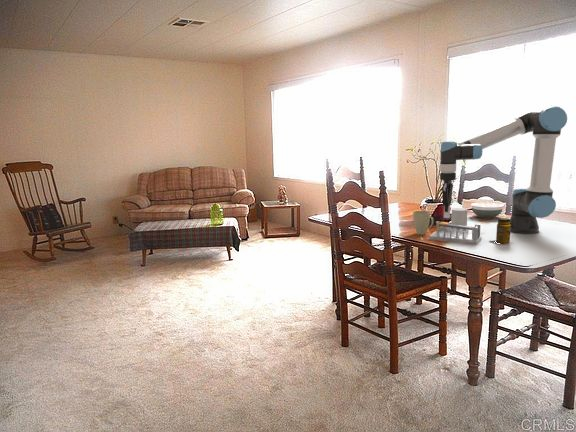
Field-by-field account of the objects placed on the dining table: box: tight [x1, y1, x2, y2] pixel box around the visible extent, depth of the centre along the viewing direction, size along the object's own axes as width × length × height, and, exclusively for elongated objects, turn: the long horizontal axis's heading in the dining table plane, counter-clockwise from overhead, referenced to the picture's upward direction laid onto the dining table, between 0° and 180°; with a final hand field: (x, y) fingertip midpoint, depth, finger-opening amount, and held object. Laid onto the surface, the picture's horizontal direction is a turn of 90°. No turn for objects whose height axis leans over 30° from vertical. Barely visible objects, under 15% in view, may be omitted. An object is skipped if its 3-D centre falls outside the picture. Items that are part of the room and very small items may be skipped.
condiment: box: [488, 217, 513, 246], centre depth 202 cm, size 7×8×12 cm
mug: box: [412, 210, 435, 235], centre depth 226 cm, size 11×10×12 cm
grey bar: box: [439, 221, 481, 231], centre depth 211 cm, size 19×4×2 cm, turn 55°
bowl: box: [470, 201, 505, 220], centre depth 260 cm, size 19×19×8 cm
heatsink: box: [428, 221, 483, 245], centre depth 212 cm, size 23×12×8 cm, turn 55°
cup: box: [450, 207, 468, 233], centre depth 230 cm, size 8×8×12 cm
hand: (446, 217), depth 213 cm, fingers closed
